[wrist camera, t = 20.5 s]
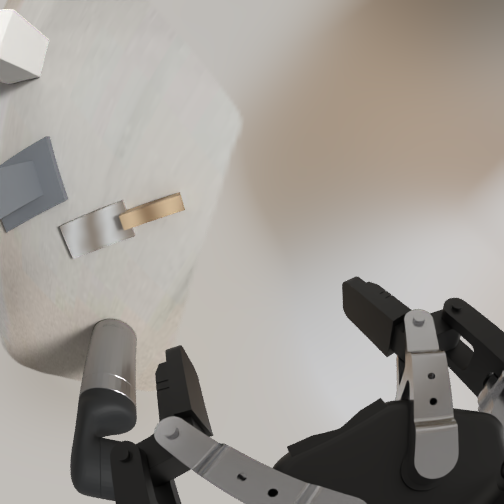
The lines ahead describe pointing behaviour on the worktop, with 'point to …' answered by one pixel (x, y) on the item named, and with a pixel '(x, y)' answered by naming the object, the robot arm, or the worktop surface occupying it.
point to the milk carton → (20, 48)
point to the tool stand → (30, 184)
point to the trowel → (114, 224)
